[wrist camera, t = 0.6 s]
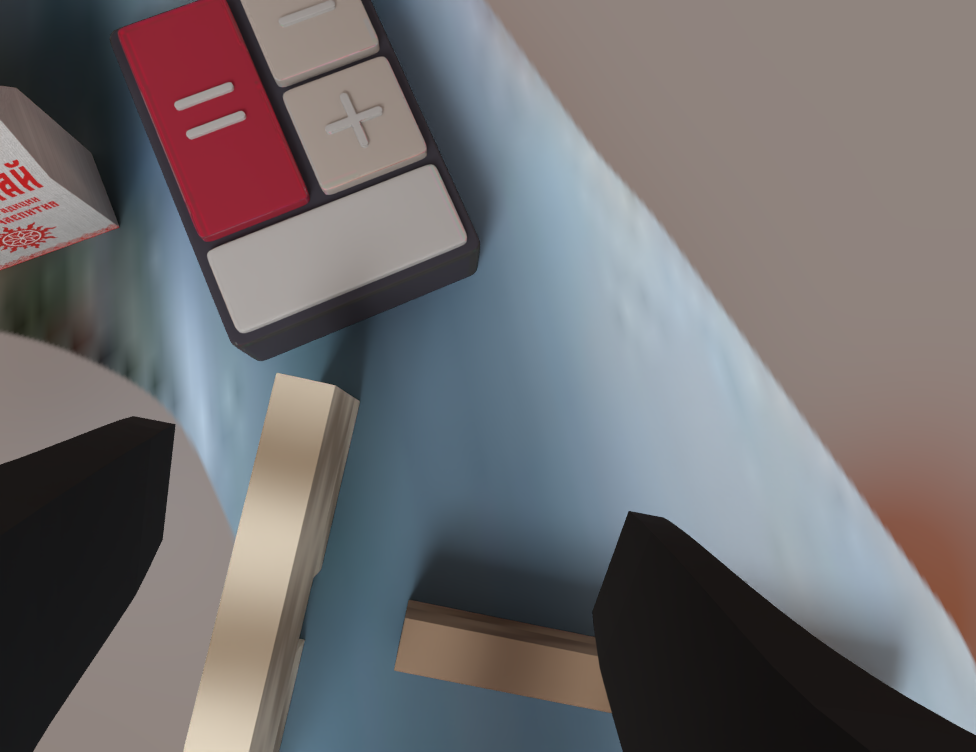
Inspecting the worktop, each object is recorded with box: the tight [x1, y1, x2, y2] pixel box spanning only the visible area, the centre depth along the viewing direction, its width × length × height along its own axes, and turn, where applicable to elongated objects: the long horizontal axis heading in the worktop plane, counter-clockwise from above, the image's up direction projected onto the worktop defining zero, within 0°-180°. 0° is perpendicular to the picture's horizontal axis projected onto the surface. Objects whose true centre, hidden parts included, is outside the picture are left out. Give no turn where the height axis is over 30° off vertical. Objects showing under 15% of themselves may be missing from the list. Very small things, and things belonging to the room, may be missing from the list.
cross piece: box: [183, 373, 360, 752], centre depth 27 cm, size 18×2×8 cm, turn 168°
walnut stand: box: [394, 600, 612, 713], centre depth 30 cm, size 22×2×4 cm, turn 78°
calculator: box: [110, 0, 480, 361], centre depth 32 cm, size 11×4×15 cm
